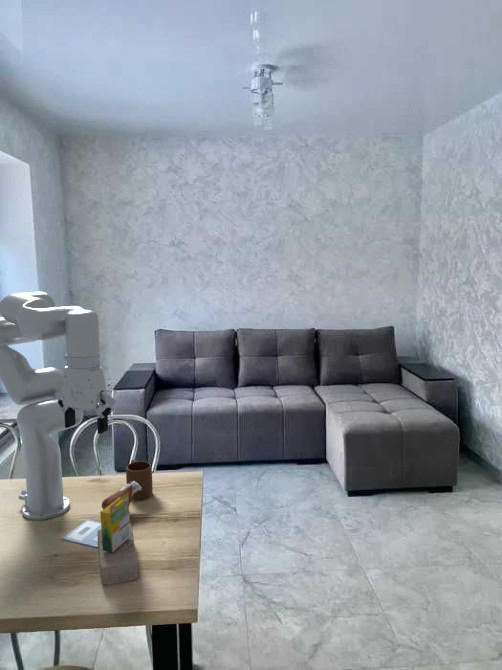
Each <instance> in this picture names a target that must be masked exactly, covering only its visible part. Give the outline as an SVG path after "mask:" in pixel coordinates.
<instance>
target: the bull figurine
mask: <svg viewBox="0 0 502 670" xmlns="http://www.w3.org/2000/svg"><path fill="white" fill-rule="evenodd" d="M141 489H142V487H141V486H140V485H139V484H138V483H137V482H135V481H133V482H132V481H130V484H127V483H126V484H125V485H124V486H123V487H121V488H120V489H117V491H116V492H115V493H112V494H111V495H109V496H107V497H105V498H104V499H103V501H102V502H101V508H102V510H104V509H105V508H106V507H108V506H109V505H110V504H111V503H113V502H114V501H115V500H116V499H118V498H119V497H120V498H121V497H123V496H124V495H125V494H126V493H128V496H129V506H130V504H131V502H132V500H131V499H132V496H133V494H134V493H136V492H137V491H138V490H139V491H140V490H141ZM130 513H131V511H129V514H130Z"/></svg>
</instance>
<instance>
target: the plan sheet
mask: <svg viewBox="0 0 502 670" xmlns="http://www.w3.org/2000/svg"><path fill="white" fill-rule="evenodd" d="M98 530H101V521H96V520H93V519H86V520H85V521H84V522H81V524H78V526H77V527H76V528H74V529H73V530H71V531H70V532H69V533H67V534H66V535H65V536H64V537H63V538H62V541H63V540H64V541H67V542H71V543H75V544H80V545H83V546H88V547H91V548H96V549H98V536H97V532H98Z"/></svg>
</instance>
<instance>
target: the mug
mask: <svg viewBox="0 0 502 670" xmlns="http://www.w3.org/2000/svg"><path fill="white" fill-rule="evenodd" d="M152 469H153V468H152V464H151V463H150V462H149V461H145V460H144V461H143V460H142V461H138V460H137V459H135V458H132V459H131V461H130V463H128V465H126V467H125V477H126V479H125V480H126V481H125V482H126V484H130V481H132V482H133V481H135V482H137V483H138V484H139V485H140V486H141V487H142V489H141V490H140V491H139V490H138V491H137V492H136V493H134V494H133V496H132V499H131V501H137V502H138V501H144V500H147V499H149V498H150V497H151V496H152V495H153V488H154V487H153V470H152Z"/></svg>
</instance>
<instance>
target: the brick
mask: <svg viewBox="0 0 502 670" xmlns="http://www.w3.org/2000/svg"><path fill="white" fill-rule="evenodd" d="M130 533H131V536H130V537H129V538H128V539H127V540H126V541H125V542H124V543H123V544H121V545H120V546H119V547H118V548H117V549H116V550H115V551H114V552H113V553H111V552H108V551H104V550H103V545H102V529H101V530H98V532H97V536H98V548H97V549H98V551H97V552H98V561H99V568H100V578H101V583H102V584H103V585H105V586H107V585H109V586H110V585H115V584H118V583H124V582H131V581H133V580H136V579H137V578H138V577H139V571H140V570H139V557H138V550H137V548H136V545H135V538H134V531H133V527H132V524H131V523H130Z"/></svg>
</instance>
